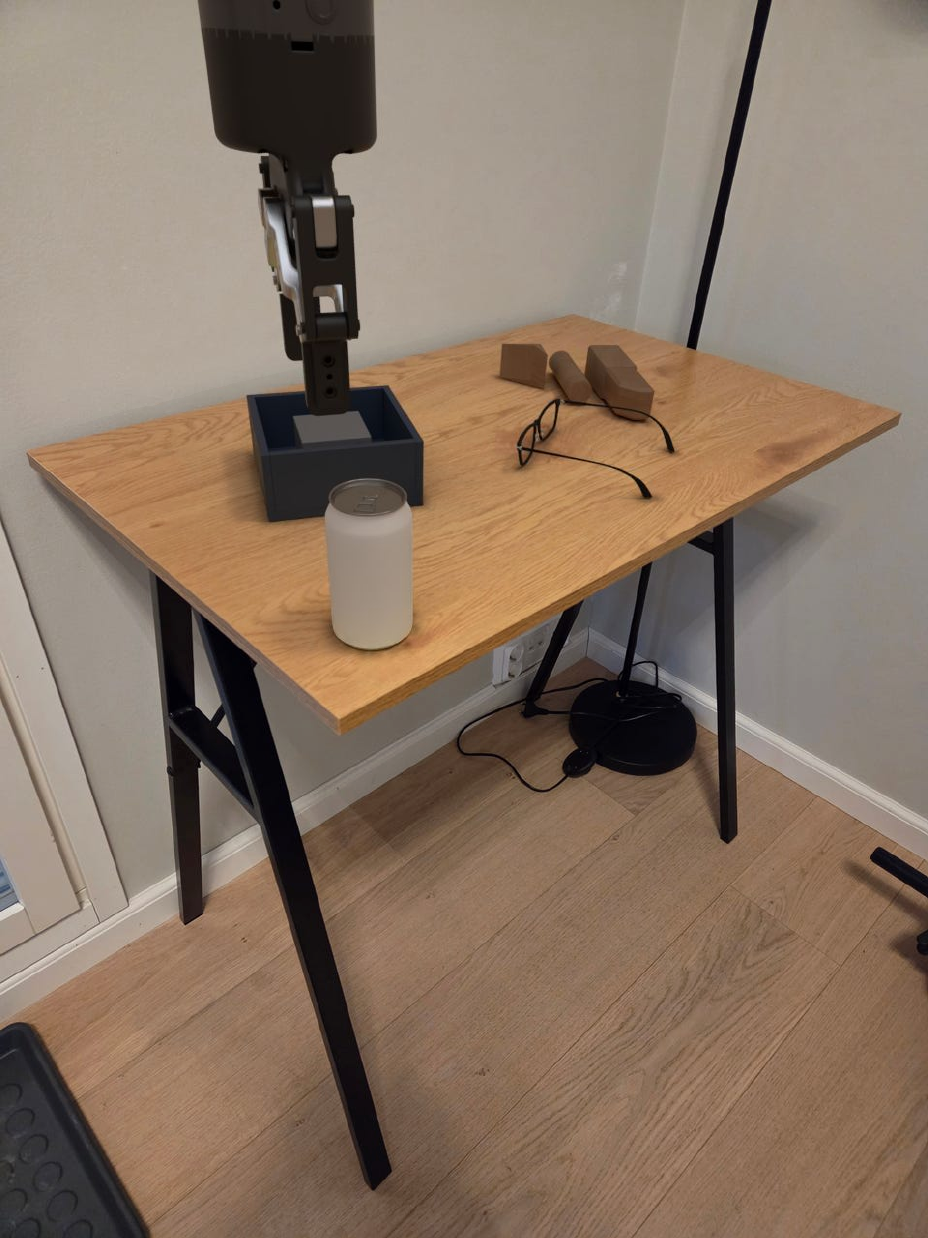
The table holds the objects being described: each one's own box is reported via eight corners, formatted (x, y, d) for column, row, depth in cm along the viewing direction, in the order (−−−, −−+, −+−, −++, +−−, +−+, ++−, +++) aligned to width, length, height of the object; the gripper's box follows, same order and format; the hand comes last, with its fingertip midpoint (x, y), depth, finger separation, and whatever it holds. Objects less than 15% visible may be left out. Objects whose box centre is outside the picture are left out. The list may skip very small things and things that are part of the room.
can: (418, 608, 66) (418, 479, 59) (406, 656, 61) (405, 521, 54) (342, 601, 67) (334, 472, 60) (324, 648, 62) (312, 513, 54)
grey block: (305, 488, 81) (301, 442, 78) (296, 459, 86) (292, 415, 83) (373, 481, 83) (371, 436, 80) (360, 453, 88) (358, 410, 85)
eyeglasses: (552, 422, 100) (555, 392, 97) (677, 447, 95) (684, 415, 93) (507, 475, 87) (510, 441, 85) (648, 506, 83) (655, 471, 80)
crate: (268, 522, 77) (260, 455, 73) (253, 454, 89) (246, 394, 85) (423, 504, 81) (423, 441, 77) (389, 442, 93) (388, 384, 89)
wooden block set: (618, 335, 112) (659, 380, 98) (612, 374, 115) (651, 423, 101) (501, 334, 110) (525, 380, 95) (498, 374, 113) (521, 424, 99)
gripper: (193, 18, 39) (236, 347, 49) (209, 18, 28) (261, 441, 38) (343, 25, 41) (356, 340, 51) (412, 28, 30) (412, 428, 40)
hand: (315, 383), depth 44 cm, fingers open, 8 cm apart
